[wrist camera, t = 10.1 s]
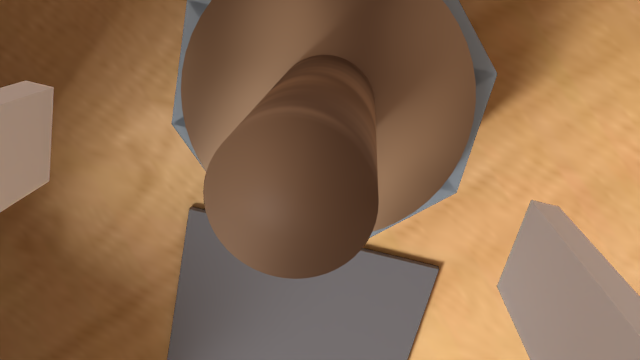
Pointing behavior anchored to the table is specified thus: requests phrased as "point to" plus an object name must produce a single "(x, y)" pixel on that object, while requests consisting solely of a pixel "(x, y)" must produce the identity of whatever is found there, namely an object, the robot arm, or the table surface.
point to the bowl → (482, 72)
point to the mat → (294, 306)
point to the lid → (323, 122)
